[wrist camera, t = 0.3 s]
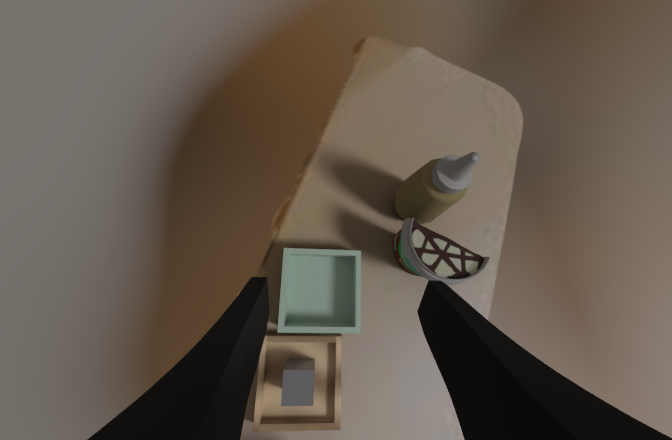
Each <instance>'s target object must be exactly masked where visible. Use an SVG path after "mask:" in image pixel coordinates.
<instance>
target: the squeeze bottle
mask: <svg viewBox="0 0 672 440" xmlns="http://www.w3.org/2000/svg"><path fill="white" fill-rule="evenodd" d="M479 159H480V157H479V155H478V154H477V153H475V152H472V153H469V154H467V155H465V156H463V157H459V156H454V155H449V156H445V157H443V158H442V159H441V158H440V159H435V160H431V161H430V162H428V163H427V164H425V165H424V166H423V167H421V168H420V169H419V170H418V171H416V172H415V173H414V174H412V175H411V176H410V177H409V178H407V179H406V180H405V181H403V182H402V183H401V184H400V185H399V187H398V188H397V190H396V194H395V209H396V212H397V214H398V215H399V216H400V218H402V219H407V218H413V217H414V219H413V221H414V222H416V223H419V224H424V223H428V222H431V221H433V220H434V219H435V218H437V217H438V216H439V215H440V214H442V213H443V212H444V211H446V210H447V209H448V208H449V207H451V206H452V205H453V204H455V203H456V202H457V201H459V200H460V199H461V198H462V197H463V196H464V194H465V192H466V190H467V187H468V186H469V185H470V183H471V181H472V179H473V172H472V168H473V167H474V166H475V165H476V163H477V162H478V161H479Z"/></svg>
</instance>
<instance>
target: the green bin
mask: <svg viewBox="0 0 672 440" xmlns="http://www.w3.org/2000/svg"><path fill="white" fill-rule="evenodd" d="M277 333H361V251H359V250H330V249H301V248H284V253H283V266H282V279H281V291H280V304H279V317H278V330H277Z"/></svg>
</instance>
